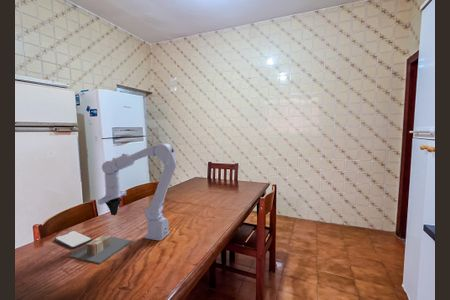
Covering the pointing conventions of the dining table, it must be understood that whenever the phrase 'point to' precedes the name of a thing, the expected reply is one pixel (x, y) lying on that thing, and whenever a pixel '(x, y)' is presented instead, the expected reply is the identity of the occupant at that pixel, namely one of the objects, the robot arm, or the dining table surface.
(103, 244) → the maple block
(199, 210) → the dining table surface
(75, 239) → the phone case
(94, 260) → the rubber mat
